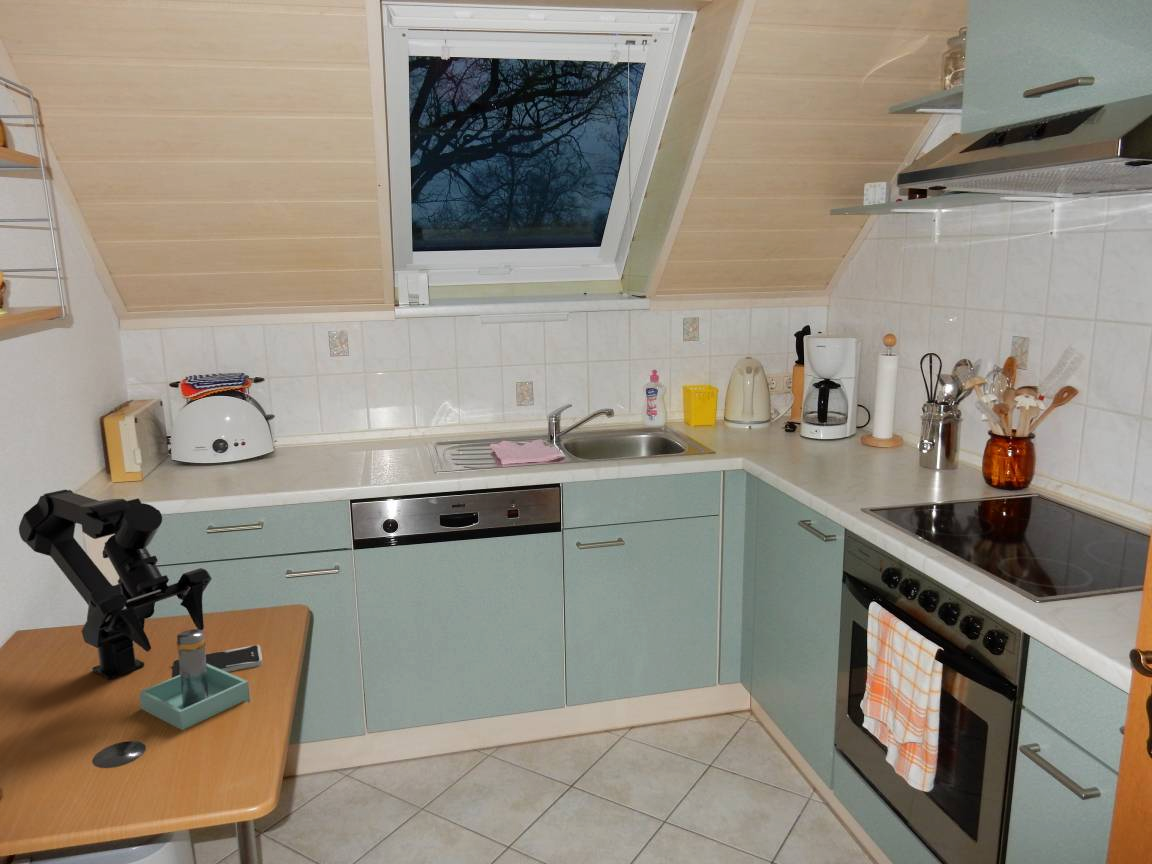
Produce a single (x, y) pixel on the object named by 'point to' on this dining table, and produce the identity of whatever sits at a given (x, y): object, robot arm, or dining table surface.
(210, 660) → the smartphone
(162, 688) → the bin
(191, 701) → the strut
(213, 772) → the dining table surface
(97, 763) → the dark metal disc
